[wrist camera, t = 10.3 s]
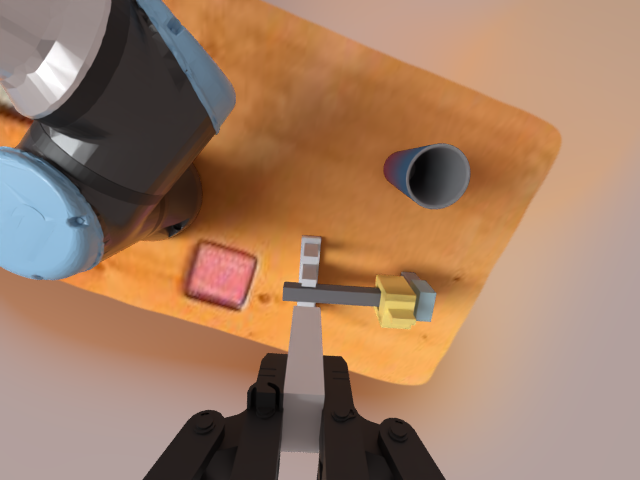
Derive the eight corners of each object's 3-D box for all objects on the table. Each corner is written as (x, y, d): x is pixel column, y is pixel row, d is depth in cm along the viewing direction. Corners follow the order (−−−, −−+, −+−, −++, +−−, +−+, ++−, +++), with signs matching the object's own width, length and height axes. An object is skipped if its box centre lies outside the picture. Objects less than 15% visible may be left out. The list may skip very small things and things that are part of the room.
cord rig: (285, 308, 53) (279, 339, 45) (289, 234, 50) (284, 252, 41) (407, 315, 54) (425, 348, 46) (419, 243, 51) (442, 263, 42)
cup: (399, 200, 49) (436, 222, 34) (368, 170, 47) (392, 180, 33) (431, 166, 47) (483, 174, 33) (400, 134, 46) (440, 128, 32)
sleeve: (372, 304, 49) (385, 338, 40) (376, 274, 47) (390, 302, 39) (397, 306, 49) (416, 340, 40) (402, 276, 47) (423, 304, 39)
